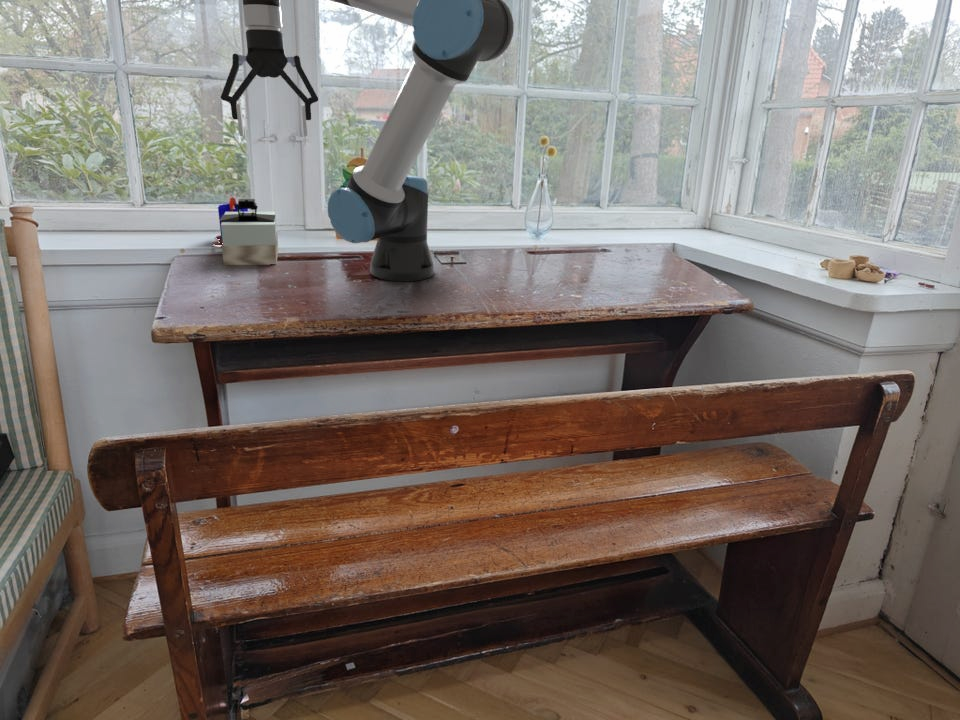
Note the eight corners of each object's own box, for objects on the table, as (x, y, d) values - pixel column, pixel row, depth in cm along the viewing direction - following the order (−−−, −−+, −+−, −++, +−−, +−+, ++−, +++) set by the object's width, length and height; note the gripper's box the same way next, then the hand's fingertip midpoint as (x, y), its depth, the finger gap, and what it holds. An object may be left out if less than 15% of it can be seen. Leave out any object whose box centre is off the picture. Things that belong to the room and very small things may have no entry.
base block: (278, 250, 173) (277, 231, 171) (276, 265, 160) (274, 245, 158) (230, 250, 170) (228, 231, 168) (223, 266, 157) (221, 246, 155)
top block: (276, 230, 171) (274, 211, 169) (276, 245, 158) (274, 224, 156) (227, 231, 168) (225, 211, 166) (223, 246, 155) (220, 224, 153)
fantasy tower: (215, 237, 181) (210, 192, 176) (260, 236, 184) (257, 193, 179) (210, 248, 170) (204, 201, 165) (258, 247, 173) (254, 201, 168)
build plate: (219, 222, 156) (217, 202, 154) (222, 215, 162) (220, 196, 160) (274, 222, 159) (272, 203, 157) (275, 215, 165) (274, 197, 163)
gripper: (324, 33, 145) (330, 134, 153) (203, 28, 139) (216, 134, 147) (325, 30, 138) (332, 137, 146) (198, 25, 132) (212, 136, 141)
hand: (274, 136), depth 147 cm, fingers open, 13 cm apart
